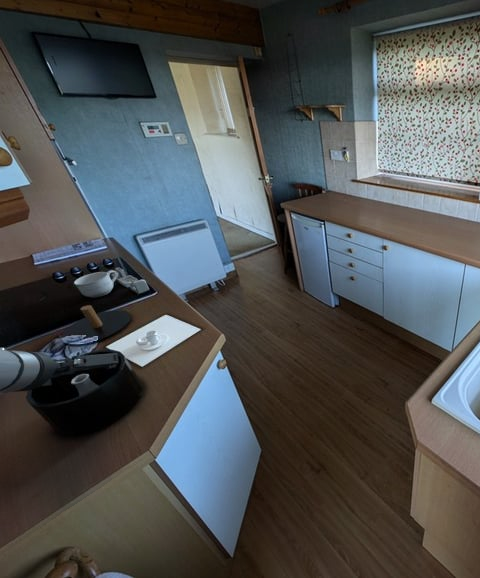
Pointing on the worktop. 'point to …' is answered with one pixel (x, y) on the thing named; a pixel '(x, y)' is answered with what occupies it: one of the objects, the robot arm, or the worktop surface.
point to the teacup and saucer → (153, 339)
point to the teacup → (96, 283)
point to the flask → (83, 384)
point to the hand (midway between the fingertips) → (84, 371)
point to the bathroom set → (131, 281)
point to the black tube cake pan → (88, 398)
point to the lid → (99, 323)
